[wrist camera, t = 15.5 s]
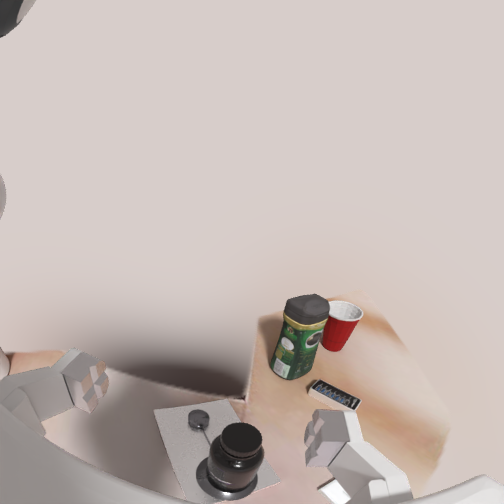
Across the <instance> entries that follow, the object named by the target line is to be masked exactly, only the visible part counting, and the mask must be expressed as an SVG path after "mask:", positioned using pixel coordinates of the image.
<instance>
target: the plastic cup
mask: <svg viewBox="0 0 504 504" xmlns="http://www.w3.org/2000/svg"><path fill="white" fill-rule="evenodd" d="M329 305H330V311H329V316H328V320H327V322H326V324H325V326H324V332H323V334H324V335H323V341H322V342H323V343H322V344H323V347H324V348H326V349H327V350H329V351H334V352H337V351H340V350H341V349H342V348H343V346H344V344H345V343H346V341H347V340H348V338H349V337H350V335H351V333H352V331H353V330H354V328H355V326H356V325H357V323H358V321H359V320H360V318H362V316H363V311H362V310H361V308H359V307H358V306H356V305H354V304H352V303H349V302H345V301H329Z"/></svg>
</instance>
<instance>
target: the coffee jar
mask: <svg viewBox="0 0 504 504" xmlns="http://www.w3.org/2000/svg"><path fill="white" fill-rule="evenodd" d="M329 311H330V305H329V302H328V301H327V300H326V299H324V298H322V297H321V296H319V295H317V294H312V295H303V296H299V297H295V298H291V299H288V300H287V303H286V306H285V309H284V312H283V318H284V322H283V327H282V330H281V334H280V337H279V340H278V343H277V346H276V349H275V352H274V354H273V357H272V361H271V364H270V365H271V368H272V370H273V371H274V372H275V373H276V374H277V375H278V376H280V377H282V378H284V379H287V380H293V379H296V378H299V377H301V376H303V375H305V374H306V373H308V372H309V371H310V370H311V368H312V365H313V362H314V358H315V355H316V351H317V347H318V344H319V340H320V337H321V334H322V331H323V328H324V326H325V324H326V322H327V320H328V316H329Z"/></svg>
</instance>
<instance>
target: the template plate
mask: <svg viewBox="0 0 504 504" xmlns="http://www.w3.org/2000/svg"><path fill="white" fill-rule="evenodd" d="M154 415H155V418H156V421H157V425H158V428H159V431H160V434H161V437H162V440H163V443H164V446H165V448H166V451H167V454H168V457H169V459H170V462H171V465H172V467H173V470H174V472H175V475H176V477H177V480H178V482H179V484H180V487H181V489H182V491H183V494H184V496H185V498H186V500H187V501H190V502H194V503H199V504H219V503H223V502H226V501H231V500H238V499H242V498H244V497H246V496H248V495H249V494H252V493H255V492H258V491H261V490H264V489H266V488H269V487H272V486H274V485H277V484H279V483H281V480H280V478H279V477H278V476H277V474H276V473H275V472H274V470H273V469H272V467H271V466H270V465H269V463H268V462H267V460H266V459H265V457H264V459H263V462H262V464H261V466H260V468H259V470H258V472H257V474H256V476H255V478H254V479H253V481H252V483H251V484H250V486H249V487H248V488H247V489H245V490H243V491H241V492H237V493H225V492H222V491H219V490H217V489H216V488H214V487H213V486H212V485H211V484H210V483H209V481H208V480H207V477H206V468H207V462H208V456H209V450H210V446H211V443H212V441H213V440H214V439H215V438H216V437H217V436H219V435H220V434H222V431H223V430H224V428H225V427H226V426H228V425H229V424H232V423H236V422H237V423H239V422H241V421H240V419H239V418H238V416H237V414H236V413H235V411H234V410H233V408H232V406H231V405H230V403H229V401H228V400H227V399H223V400H217V401H212V402H206V403H200V404H194V405H188V406H180V407H173V408H164V409H155V410H154Z"/></svg>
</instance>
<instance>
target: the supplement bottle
mask: <svg viewBox="0 0 504 504" xmlns="http://www.w3.org/2000/svg"><path fill="white" fill-rule="evenodd" d="M261 444H262V436H261V433H260V432H259V431H258V430H257V428H255V427H254V426H252V425H250V424H248V423H241V422H239V423H237V422H236V423H232V424H229V425H228V426H226V427H225V428H224V430H223V431H222V434H220V435H219V436H217V437H216V438H215V439H214V440H213V441H212V443H211V446H210V450H209V456H208V462H207V468H206V477H207V480H208V481H209V483H210V484H211V485H212V486H213V487H214V488H216V489H217V490H219V491H222V492H225V493H237V492H241V491H243V490H245V489H247V488H248V487H249V486H250V484H251V483H252V481H253V479H254V478H255V476H256V474H257V472H258V470H259V468H260V466H261V464H262V462H263V459H264V449H263V447H262V445H261Z"/></svg>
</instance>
